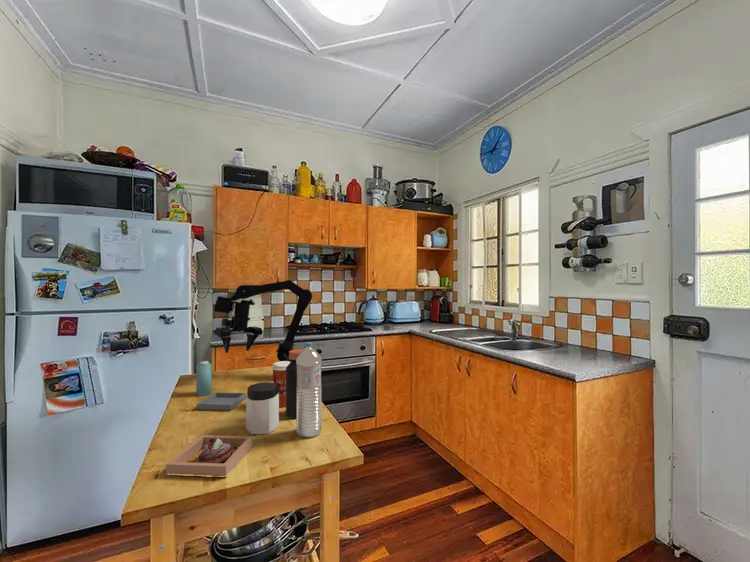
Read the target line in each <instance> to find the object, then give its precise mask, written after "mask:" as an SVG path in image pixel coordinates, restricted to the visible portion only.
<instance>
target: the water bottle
mask: <svg viewBox="0 0 750 562" xmlns="http://www.w3.org/2000/svg"><path fill="white" fill-rule="evenodd" d="M302 350H303V351H302V352H301V353H300V354H299V355H298V357H297V359H296V364H297V387H296V393H297V394H296V396H297V397H296V403H297V404H296V406H297V407H296V413H297V414H296V416H297V417H296V427H295V428H296V429H295V430H296V434H297V436H299V437H301V438H305V439H309V438H314V437H317V436H318V435H320V434H321V432H322V356H321V354H320V353H319V352H318V351H317V350H316V349H314V348H313V342H310V341H307V342H305V348H304V349H302Z"/></svg>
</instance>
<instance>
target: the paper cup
mask: <svg viewBox="0 0 750 562" xmlns="http://www.w3.org/2000/svg"><path fill="white" fill-rule="evenodd" d="M289 364H290V361H277V362H274V363H273V364H272V366H271V369H272V376H273V377H272V378H273V380H272V381H273V383H275V384H277V394H278V395H279V409H280V408H282V409H283V408H286V367H287V366H288V365H289Z"/></svg>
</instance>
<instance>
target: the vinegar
mask: <svg viewBox="0 0 750 562" xmlns="http://www.w3.org/2000/svg"><path fill="white" fill-rule="evenodd" d="M303 350H304V349H292V350H291V351H289V360H290V364H289V365H288V366H287V367H286V407H285V415H286V417H287V418H289V419H293V420H294V419H296V417H297V416H296V414H297V413H296V407H297V406H296V404H297V403H296V397H297V396H296V394H297V393H296V387H297V364H296V359H297V357H298V355H299V354H300V353H301V352H302V351H303ZM296 420H297V419H296Z"/></svg>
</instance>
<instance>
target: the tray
mask: <svg viewBox="0 0 750 562" xmlns="http://www.w3.org/2000/svg"><path fill="white" fill-rule="evenodd" d="M246 397H247V392H228V391H227V392H226V391H225V392H224V391H223V392H222V391H221V392H220V391H216V392H214V393H211V394H210V395H208V396H206V398H204V399H202V400H201V401H199V402H198V403H196V411H212V410H216V412H221V411H222V412H231V411H232V410H234V409H235V408H236V407H237V406H238V405H240V404H241V403H242V402H244V401H245V400H246Z"/></svg>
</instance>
